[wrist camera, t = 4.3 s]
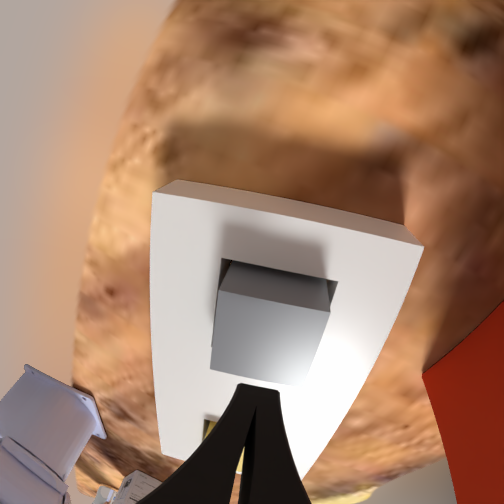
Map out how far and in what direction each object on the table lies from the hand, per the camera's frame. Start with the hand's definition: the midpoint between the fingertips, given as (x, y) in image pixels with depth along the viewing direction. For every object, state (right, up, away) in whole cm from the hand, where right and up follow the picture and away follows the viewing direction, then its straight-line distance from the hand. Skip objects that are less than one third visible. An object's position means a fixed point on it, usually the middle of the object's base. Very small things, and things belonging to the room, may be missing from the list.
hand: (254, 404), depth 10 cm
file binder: (+20, 0, +6) cm, 21 cm away
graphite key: (+1, +2, +6) cm, 6 cm away
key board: (0, -2, +10) cm, 10 cm away
